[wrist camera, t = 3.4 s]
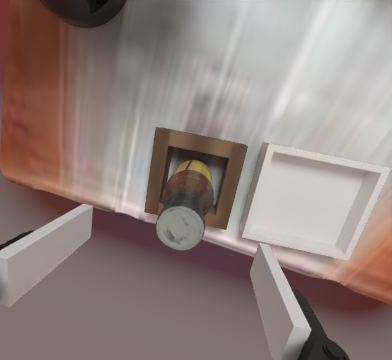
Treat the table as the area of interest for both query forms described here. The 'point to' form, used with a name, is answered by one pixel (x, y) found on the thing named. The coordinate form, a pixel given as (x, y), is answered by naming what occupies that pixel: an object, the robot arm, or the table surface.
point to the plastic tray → (310, 200)
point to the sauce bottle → (185, 206)
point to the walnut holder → (173, 138)
